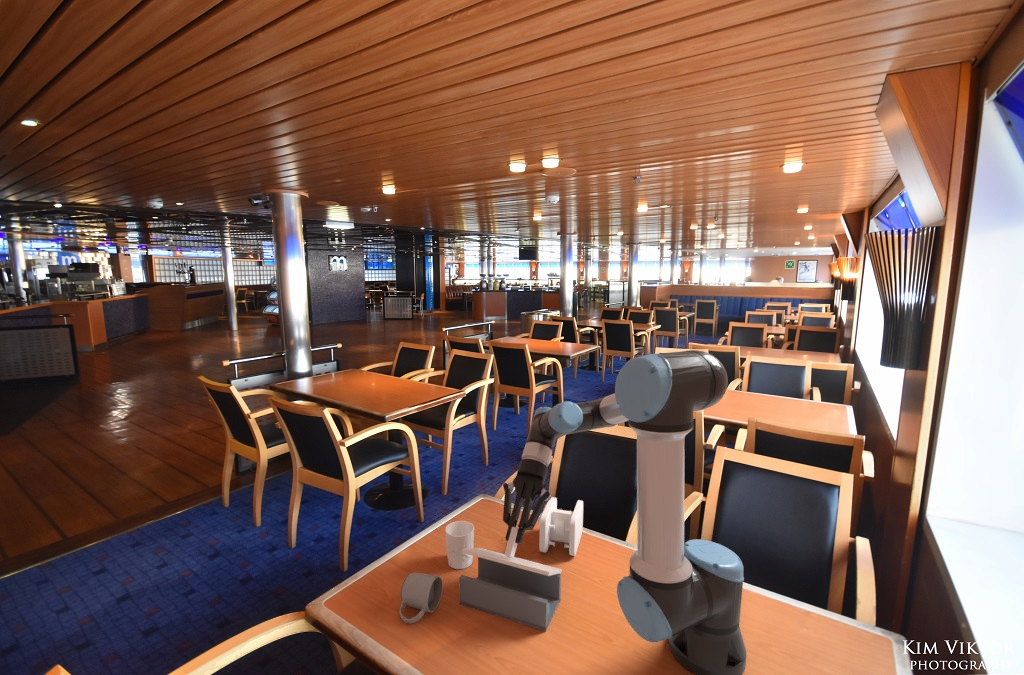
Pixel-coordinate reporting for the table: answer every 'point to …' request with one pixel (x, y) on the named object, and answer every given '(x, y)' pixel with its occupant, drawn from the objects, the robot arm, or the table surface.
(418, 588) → the ceramic mug
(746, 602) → the table surface
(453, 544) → the white cup
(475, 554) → the panel
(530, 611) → the cable duct
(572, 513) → the cable organizer
